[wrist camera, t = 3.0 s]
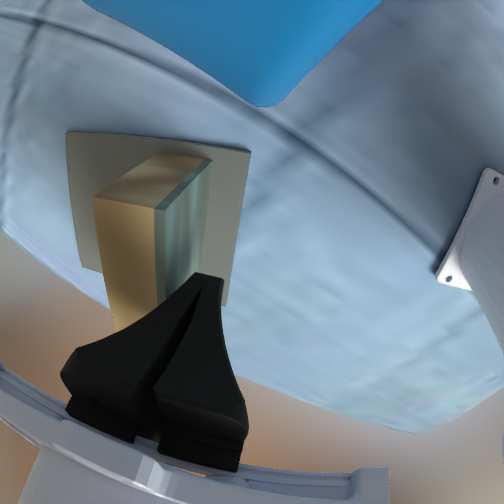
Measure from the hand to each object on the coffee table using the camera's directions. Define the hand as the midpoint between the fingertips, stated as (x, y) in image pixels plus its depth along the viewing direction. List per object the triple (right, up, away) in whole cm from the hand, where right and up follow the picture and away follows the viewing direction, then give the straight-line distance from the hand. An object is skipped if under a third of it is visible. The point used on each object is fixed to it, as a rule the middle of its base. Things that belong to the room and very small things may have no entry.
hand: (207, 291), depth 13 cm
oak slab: (-2, +3, +4) cm, 5 cm away
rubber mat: (-5, +4, +4) cm, 7 cm away
